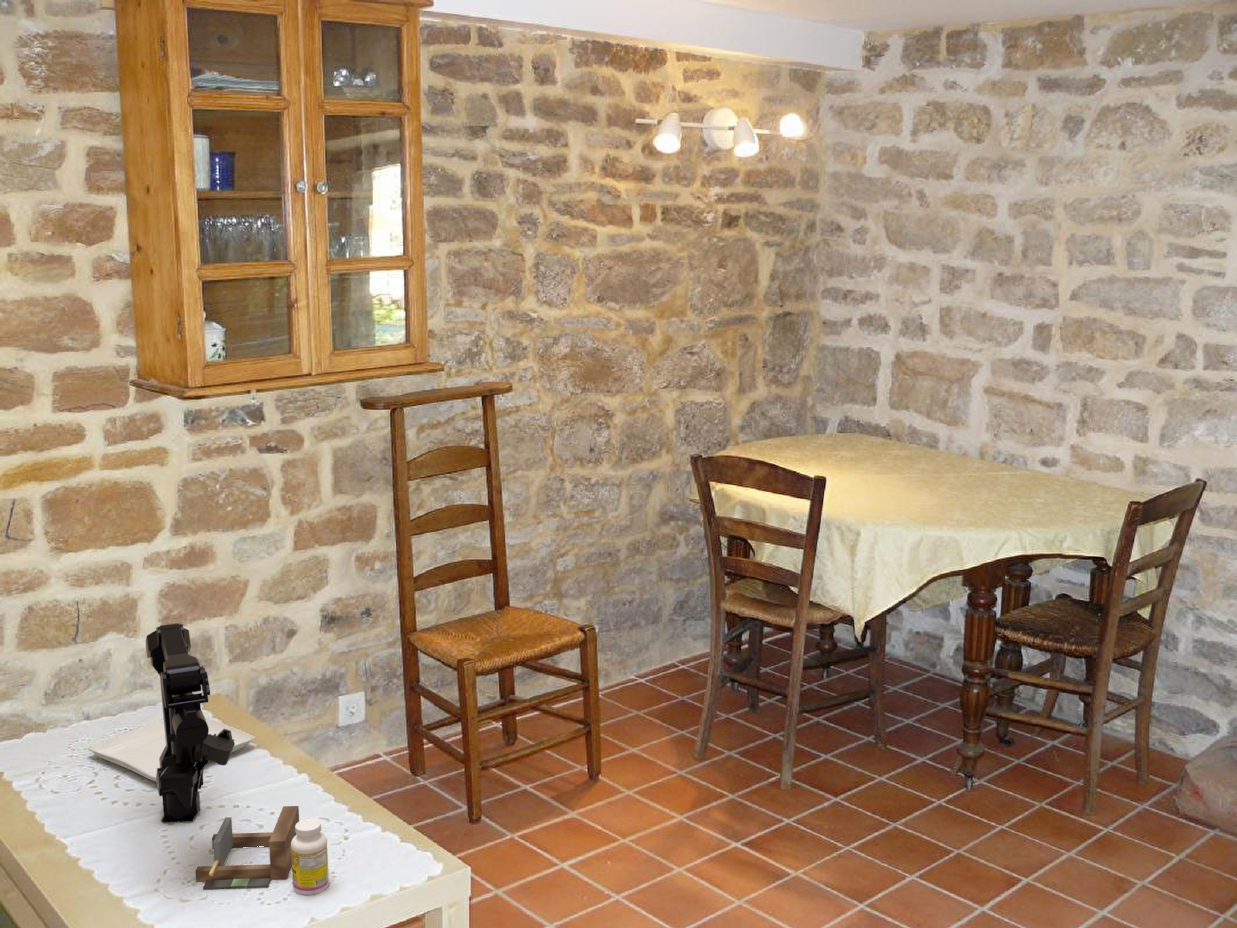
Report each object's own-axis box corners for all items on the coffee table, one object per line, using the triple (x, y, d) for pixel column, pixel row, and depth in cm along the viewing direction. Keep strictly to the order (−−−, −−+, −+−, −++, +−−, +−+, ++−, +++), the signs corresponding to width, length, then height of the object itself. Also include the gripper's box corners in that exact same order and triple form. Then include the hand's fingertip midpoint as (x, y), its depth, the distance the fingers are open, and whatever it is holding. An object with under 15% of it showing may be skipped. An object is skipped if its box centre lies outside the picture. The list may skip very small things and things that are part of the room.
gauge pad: (208, 884, 232) (206, 855, 231) (226, 845, 247) (225, 817, 245) (214, 884, 232) (212, 855, 231) (233, 844, 247) (231, 817, 245)
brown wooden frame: (192, 890, 232) (189, 851, 230) (214, 844, 249) (212, 808, 247) (284, 887, 233) (282, 848, 232) (300, 842, 250) (298, 805, 248)
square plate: (187, 722, 309) (186, 708, 308) (258, 750, 293) (257, 735, 292) (87, 760, 287) (85, 744, 286) (157, 792, 272) (156, 776, 271)
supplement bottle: (296, 878, 237) (293, 816, 234) (331, 876, 237) (328, 815, 235) (290, 896, 230) (286, 833, 227) (326, 895, 231) (323, 832, 228)
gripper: (217, 745, 227) (222, 823, 230) (240, 706, 246) (244, 779, 249) (155, 747, 227) (160, 825, 230) (182, 707, 245) (187, 780, 248)
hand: (191, 801), depth 239 cm, fingers open, 4 cm apart
